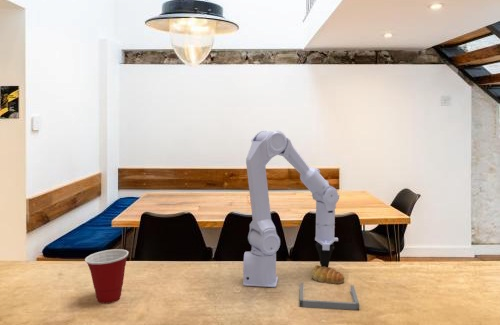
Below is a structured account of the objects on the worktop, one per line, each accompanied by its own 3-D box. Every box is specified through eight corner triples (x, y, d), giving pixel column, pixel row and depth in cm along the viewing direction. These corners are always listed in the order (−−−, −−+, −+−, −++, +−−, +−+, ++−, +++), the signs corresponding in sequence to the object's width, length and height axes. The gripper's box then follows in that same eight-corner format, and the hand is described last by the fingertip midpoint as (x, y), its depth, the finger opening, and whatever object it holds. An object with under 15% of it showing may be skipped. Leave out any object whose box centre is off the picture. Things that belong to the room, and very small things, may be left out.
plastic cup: (85, 294, 112) (84, 251, 111) (126, 289, 116) (126, 246, 115) (86, 310, 102) (85, 262, 101) (132, 303, 106) (131, 257, 105)
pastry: (347, 280, 124) (347, 267, 123) (338, 287, 118) (339, 274, 118) (318, 274, 129) (318, 262, 129) (309, 280, 123) (309, 268, 123)
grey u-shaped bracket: (299, 306, 104) (299, 300, 104) (300, 287, 117) (300, 282, 117) (359, 310, 102) (359, 304, 102) (353, 290, 115) (353, 285, 115)
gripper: (340, 229, 121) (339, 275, 122) (336, 219, 135) (335, 260, 136) (315, 228, 122) (315, 274, 123) (314, 218, 136) (314, 259, 137)
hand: (324, 266), depth 129 cm, fingers closed
